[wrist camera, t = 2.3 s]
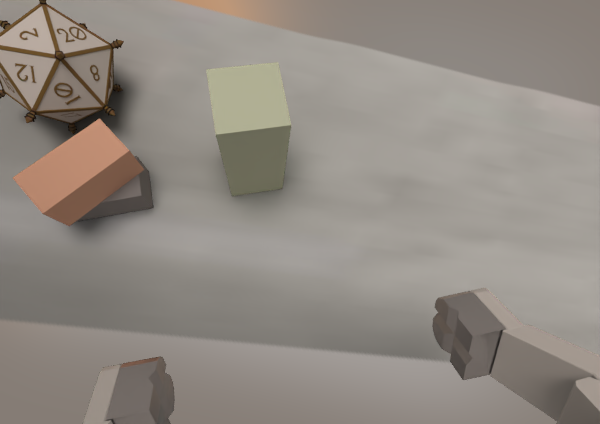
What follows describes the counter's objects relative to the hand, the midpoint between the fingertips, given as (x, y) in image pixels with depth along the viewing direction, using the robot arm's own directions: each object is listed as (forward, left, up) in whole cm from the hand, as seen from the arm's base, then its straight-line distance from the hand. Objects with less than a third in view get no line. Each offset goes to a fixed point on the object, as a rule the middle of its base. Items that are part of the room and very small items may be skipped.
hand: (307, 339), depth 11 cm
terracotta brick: (-11, +12, -13) cm, 21 cm away
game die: (-13, +20, -16) cm, 29 cm away
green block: (0, +12, -16) cm, 20 cm away
